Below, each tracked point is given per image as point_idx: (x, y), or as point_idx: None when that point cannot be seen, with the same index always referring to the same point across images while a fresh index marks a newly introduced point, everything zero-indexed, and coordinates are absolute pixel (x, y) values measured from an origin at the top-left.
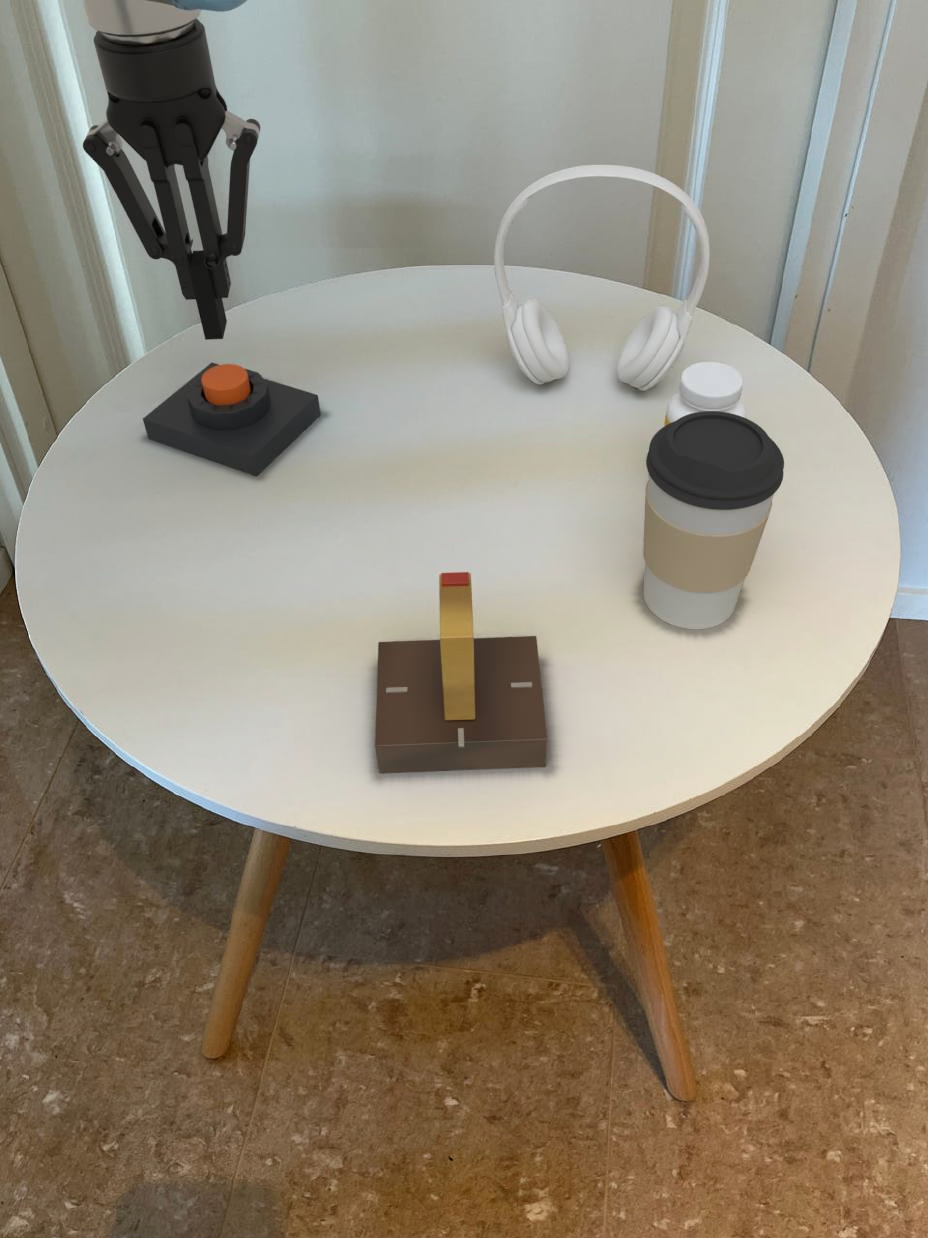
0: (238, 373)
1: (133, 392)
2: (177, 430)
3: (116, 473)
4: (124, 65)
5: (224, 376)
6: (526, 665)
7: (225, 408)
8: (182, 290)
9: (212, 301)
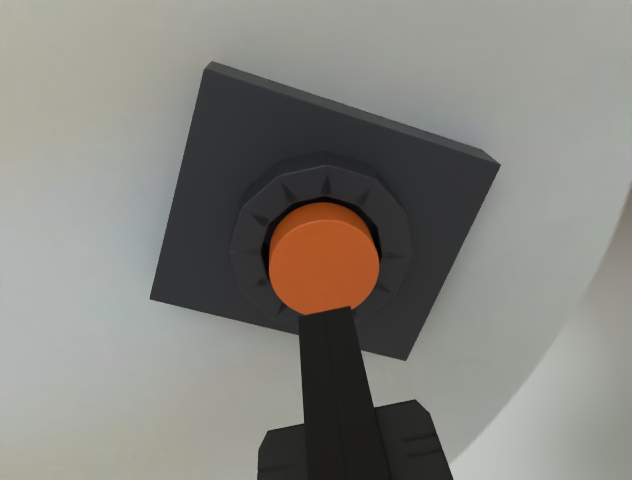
0: (295, 287)
1: (547, 282)
2: (410, 136)
3: (522, 24)
4: None
5: (324, 271)
6: None
7: (301, 186)
8: (428, 424)
9: (310, 400)
